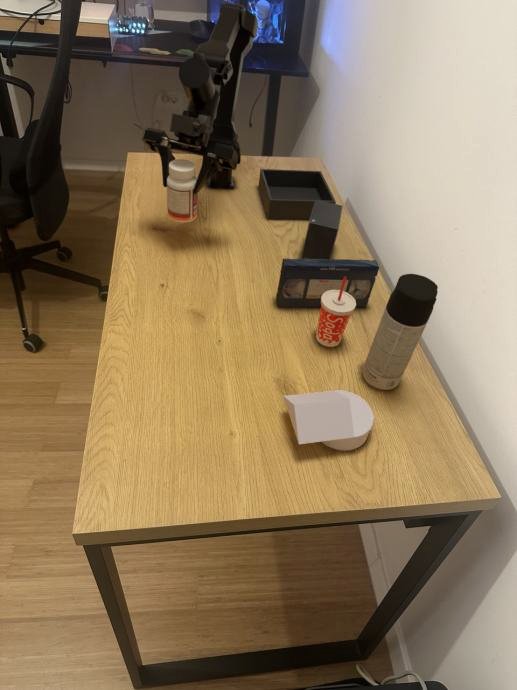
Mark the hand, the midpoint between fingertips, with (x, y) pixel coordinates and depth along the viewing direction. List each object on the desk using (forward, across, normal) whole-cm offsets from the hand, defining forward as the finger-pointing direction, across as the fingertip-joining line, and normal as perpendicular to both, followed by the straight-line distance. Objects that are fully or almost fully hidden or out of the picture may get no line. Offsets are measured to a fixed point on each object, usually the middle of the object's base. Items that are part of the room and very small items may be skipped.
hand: (179, 190), depth 100 cm
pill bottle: (+4, 0, +6) cm, 7 cm away
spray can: (+26, +47, -7) cm, 54 cm away
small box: (+3, +29, +16) cm, 33 cm away
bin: (-12, +19, +31) cm, 38 cm away
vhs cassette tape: (+15, +33, +4) cm, 36 cm away
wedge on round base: (+35, +40, -17) cm, 56 cm away
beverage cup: (+21, +36, -3) cm, 42 cm away
